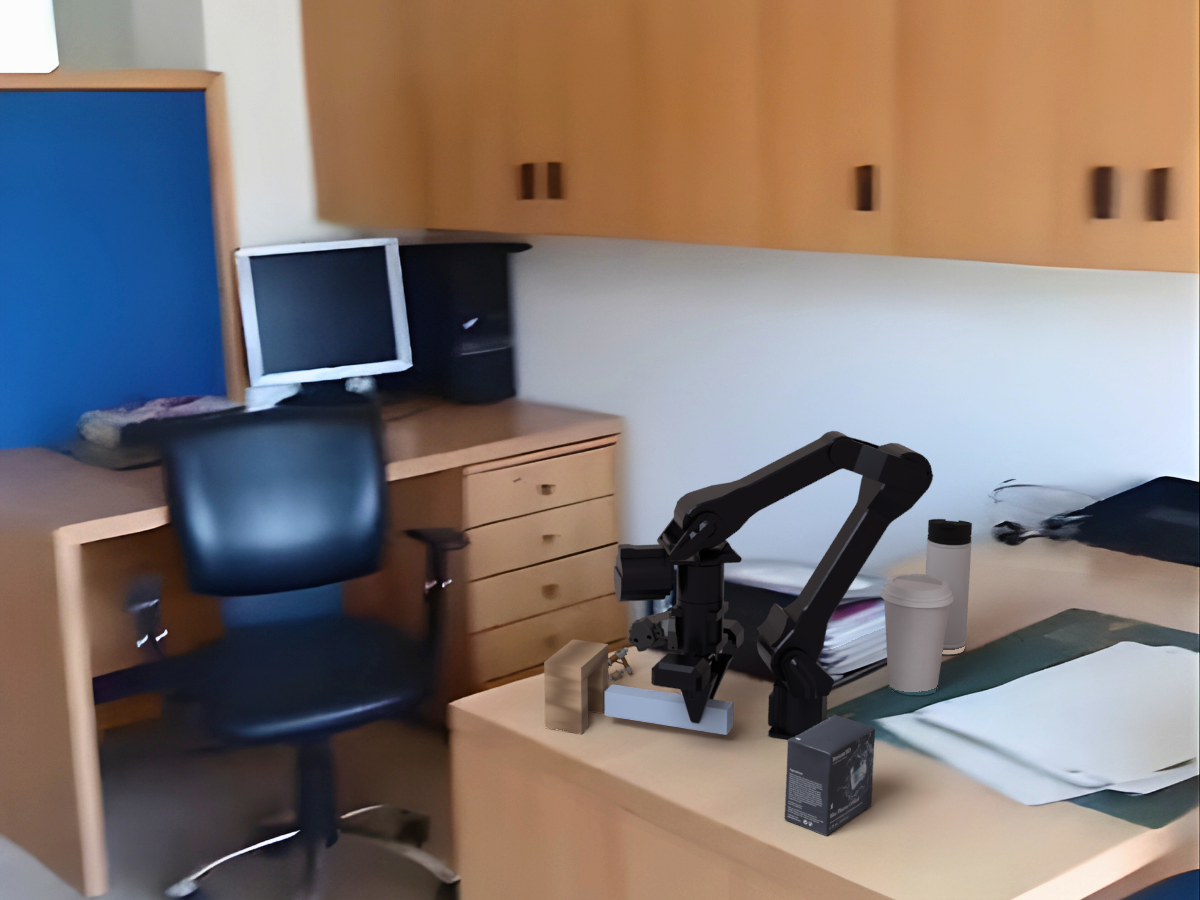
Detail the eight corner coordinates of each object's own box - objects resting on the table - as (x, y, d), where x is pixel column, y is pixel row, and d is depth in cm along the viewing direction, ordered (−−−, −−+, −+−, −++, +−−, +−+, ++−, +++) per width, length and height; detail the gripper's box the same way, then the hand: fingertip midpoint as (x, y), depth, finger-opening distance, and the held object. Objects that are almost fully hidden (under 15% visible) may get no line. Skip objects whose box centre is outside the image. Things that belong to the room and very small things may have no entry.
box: (827, 838, 130) (830, 753, 128) (782, 821, 133) (785, 738, 131) (873, 807, 136) (877, 726, 134) (830, 791, 140) (832, 712, 138)
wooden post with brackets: (640, 671, 174) (628, 645, 172) (593, 702, 171) (580, 676, 170) (634, 667, 175) (622, 641, 174) (587, 698, 173) (575, 672, 171)
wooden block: (608, 707, 163) (608, 644, 162) (581, 734, 155) (581, 667, 154) (573, 702, 165) (572, 639, 164) (545, 728, 157) (544, 662, 155)
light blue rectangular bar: (732, 726, 154) (733, 702, 153) (726, 734, 151) (726, 710, 151) (612, 707, 160) (612, 684, 159) (604, 715, 157) (604, 691, 157)
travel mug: (918, 653, 183) (925, 521, 179) (925, 639, 189) (931, 511, 185) (962, 658, 180) (970, 525, 177) (967, 644, 186) (974, 514, 183)
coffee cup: (963, 689, 169) (969, 583, 166) (919, 706, 163) (924, 597, 160) (905, 669, 177) (910, 567, 174) (862, 685, 171) (866, 580, 168)
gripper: (663, 569, 162) (662, 682, 165) (609, 612, 145) (610, 737, 148) (745, 578, 158) (743, 694, 161) (701, 623, 141) (699, 752, 144)
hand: (698, 717), depth 154 cm, fingers closed on light blue rectangular bar, 3 cm apart
